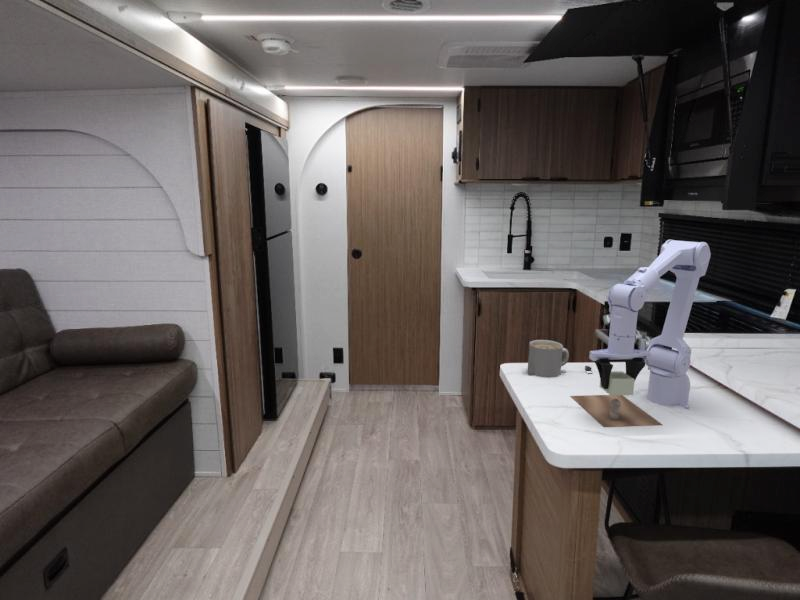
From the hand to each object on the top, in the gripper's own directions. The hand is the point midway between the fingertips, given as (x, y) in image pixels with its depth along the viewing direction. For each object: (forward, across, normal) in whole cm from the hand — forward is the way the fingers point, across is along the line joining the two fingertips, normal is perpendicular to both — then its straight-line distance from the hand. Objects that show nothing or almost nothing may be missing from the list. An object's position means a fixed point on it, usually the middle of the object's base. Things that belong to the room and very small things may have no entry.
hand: (616, 387), depth 123 cm
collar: (+1, 0, 0) cm, 1 cm away
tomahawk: (+10, -10, -28) cm, 31 cm away
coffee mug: (+9, +3, -34) cm, 35 cm away
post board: (+9, -2, -4) cm, 10 cm away
